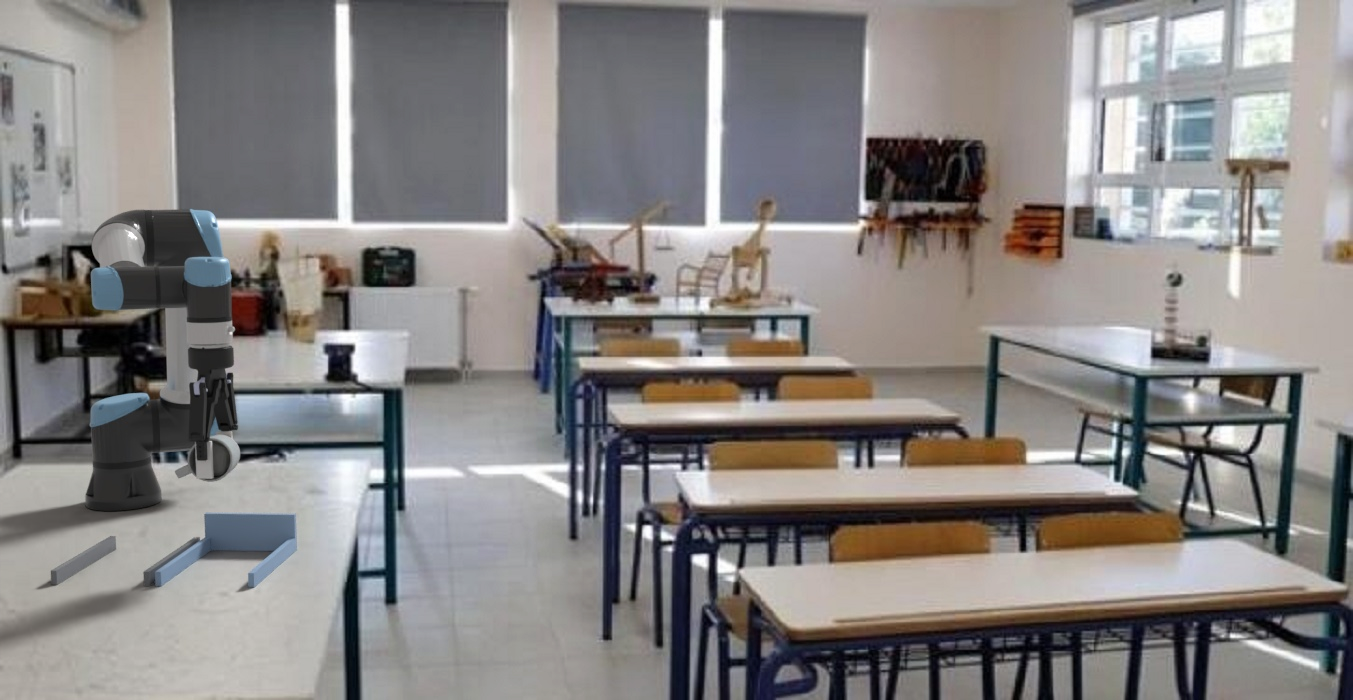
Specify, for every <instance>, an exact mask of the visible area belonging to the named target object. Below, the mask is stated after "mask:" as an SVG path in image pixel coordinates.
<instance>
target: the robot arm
mask: <svg viewBox="0 0 1353 700" xmlns="http://www.w3.org/2000/svg"><path fill="white" fill-rule="evenodd" d="M222 245H223V244H222V239H221V234H220V228H219V225H218V221H217V218H216V215H215V214H214V213H213V212H212V211H210V210H205V209H204V210H203V209H193V208H189V209H187V208H185V209H182V208H181V209H132V210H131V209H130V210H127V211H123V212H121V213H118V214H116V215H113V216H112V217H110V218H108V219H106V220H105V221H104V222H102V223H101V224H100V225H99V226H98V227H97V228H96V229H95V231H94V233H93V236H92V240H91V250H92V254H93V256H94V259H95V260H96V261H97V262H98V263H99V267H95V268H93V269H92V270H91V272H90V282H91V283H90V284H91V285H90V286H91V288H90V289H91V302H92V303H91V304H92V307H93V308H94V309H96V310H101V311H103V310H105V311H106V310H107V311H115V312H116V311H125V310H128V311H129V310H148V309H149V310H150V309H151V310H152V309H165V311H164V312H165V343H166V344H165V346H166V348H165V349H166V350H165V351H166V384H165V385H164V386H163V387H162V388H161V389H160V391H159V398H158V399H157V398H156V399H150V396H149V394H148V393H146V392H136V393H135V392H133V393H124V394H119V395H113V396H110V397H105V398H103V399H100V400H98V401H96V402H95V403H93V404H92V406H91V408H90V422H89V427H90V431H91V456H92V473H91V475H90V480H89V482H88V485H87V489H86V492H85V494H84V495H85V496H84V498H85V499H84V501H85V507H86V508H88V509H89V510H90V509H91V510H93V511H94V510H95V511H101V512H103V511H104V512H105V511H106V512H114V511H129V510H137V509H143V508H148V507H151V506H154V505H157V504H159V503H160V502H161V501H162V499H163V498H162V488H161V486H160V482H159V480H158V478H157V476H156V474H155V471H154V469H153V466H152V454H159V453H170V452H173V453H174V452H186V451H190V449H191V448H192V446H193V445H194V444H195V454H196V477H195V478H196V479H198V480H200V479H212V478H214V474H213V449H212V441H209V439H210V436H212V435H218V434H220V435H226V436H228V437H230V438H232V439H233V437H234V436H233V435H234V434H233V433H234V432H233V431H238V429H239V425H238V414H237V405H236V398H235V388H234V373H233V372H227V370H226V369H230V368H232V367H234V365H235V356H234V353H235V351H234V347H233V346H232V345H230V344H232V343H233V341H234V337H233V336H234V332H235V331H236V328H235V326H233V314H232V313H233V312H232V280H233V279H232V278H233V276H232V274H231V265H230V260H229V259H228V258H227V257H224V254H223V253H224V251H223V246H222ZM233 440H234V439H233Z"/></svg>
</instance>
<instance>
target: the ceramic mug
mask: <svg viewBox="0 0 1353 700" xmlns="http://www.w3.org/2000/svg"><path fill="white" fill-rule="evenodd" d="M209 441H212V449H213V474H214V478H212V479H199V480H201V481H202V482H208V483H209V482H211V483H212V482H218V481H220V480H222V479H224V478H225V477H226V476H227V475H228V474H230V473H231V472H232V471H234V469H235V468H236V467H237V466H238V464H239V462H240V459H241V449H240V446H239V445H238V442H236V440H235V439H232V438H230V437H228V436H226V435H220V434H218V435H212V436H210V439H209ZM188 451H189V452H188V453H187V454H188V455H187V461H186V462H187V463H186V464H185V465H183V466H182V467H179V468H177V469H175V471H174V473H175V475H176V477H177V478H178V479H182V478H184V477H186V476H188V475H190V474H192V475H193V477H195V478H196V454H195V444H194V445H193V446H192V448H191V449H190V450H188Z"/></svg>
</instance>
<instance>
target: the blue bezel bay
mask: <svg viewBox="0 0 1353 700" xmlns="http://www.w3.org/2000/svg"><path fill="white" fill-rule="evenodd" d="M203 514H204V516H203V517H204V538H202V539H200V541H199V542H197V543H196V544H195V545H193V546H192V547H190V548H189V549H187V550H186V551H184V552H183V553H182V554H180V555H179V556H177V557H176V558H174V559H173V560H172V561H170V562H169V563H167V564H166V565H164V566H163V567H161V568H160V569H159V570H157V571H156V572H155V587H163V586H164V585H165V584H167V583H168V582H170V581H171V580H172V579H173V578H175V577H176V576H178V575H179V574H181V573H182V572H184V570H186V569H187V568H189V567H190V566H191V565H193V564H194V563H195V562H197V561H198V560H199V559H201V558H203V557H204V556H206V555H207V554H208V553H210V551H238V552H239V551H242V552H243V551H246V552H249V551H250V552H251V551H253V552H255V551H256V552H257V551H258V552H261V551H262V552H263V551H264V552H271V553H270V554H269V555H268V556H266V558H264V559H263V560H262V561H261V562H259V563H258V564H256V566H254V568H252V569H251V570H249V572H248V573H247V582H248V588H256V586H258V585H259V584H260V583H261V582H262V581H263V580H264V579H266V578H267V577H268V576H269V575H270V574H271V573H272V572H274V571H275V569H277V568H278V567H279V566H280V565H282V563H284V562H285V561H286V560H287V559H288V558H290V557H291V556H292V555H293V554H294V553H295V552H296V551H297V550H298V541H297V539H298V538H297V537H298V536H297V533H298V532H297V513H291V512H290V513H289V512H288V513H285V512H284V513H281V512H280V513H279V512H278V513H277V512H276V513H273V512H272V513H271V512H263V513H262V512H205V513H203Z"/></svg>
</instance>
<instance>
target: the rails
mask: <svg viewBox="0 0 1353 700" xmlns="http://www.w3.org/2000/svg"><path fill="white" fill-rule="evenodd" d="M116 537H117V536H116V535H110V536H108V537H106V538H103V540H101V541H99V542H98V543H96V544H94V545H93V546H91V547H89V548H88V549H87V548H86V549H85V550H83V551H82V552H80V553H79V554H77V555H75V556H73V557H72V558H70V559H68V560H66V561H65V562H63V563H61V564H60V565H58V566H56V567H54V568H53V569H50V583H51V586H53V585H54V586H57V585H59V584H61V583H63V582H64V581H66V580H68V579H69V578H72V577H73V576H75V575H76V574H77V573H79V572H81V571H82V570H84V569H86V568H87V567H89V566H91V565H92V564H94V563H96V562H97V561H99V560H101V559H102V558H104V557H106V556H107V555H109V554H110V553H112V552H114V551H115V550H116V549H117V539H116ZM200 540H201V537H200V536H194V537H193V538H191V539H189V540H188V541H187V542H185V543H184V544H183V545H181V546H180V547H178V548H176V549H174V550H173V551H172V552H171V553H169V554H168V555H166V556H165V557H162V559H160V560H158V561H157V562H156V563H154V564H153V565H150V567H148V568H147V569H144V571H143V573H142V574H143V586H144V587H150V586H152V585H153V584H154V583H155V572H156V571H157V570H159V569H160V568H161V567H163V566H164V565H166V564H167V563H169V562H170V561H172V560H173V559H174V558H176V557H177V556H179V555H180V554H182V553H183V552H184V551H186V550H187V549H189V548H190V547H192V546H193V545H195V544H196V543H197V542H199V541H200ZM155 584H156V583H155Z"/></svg>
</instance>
